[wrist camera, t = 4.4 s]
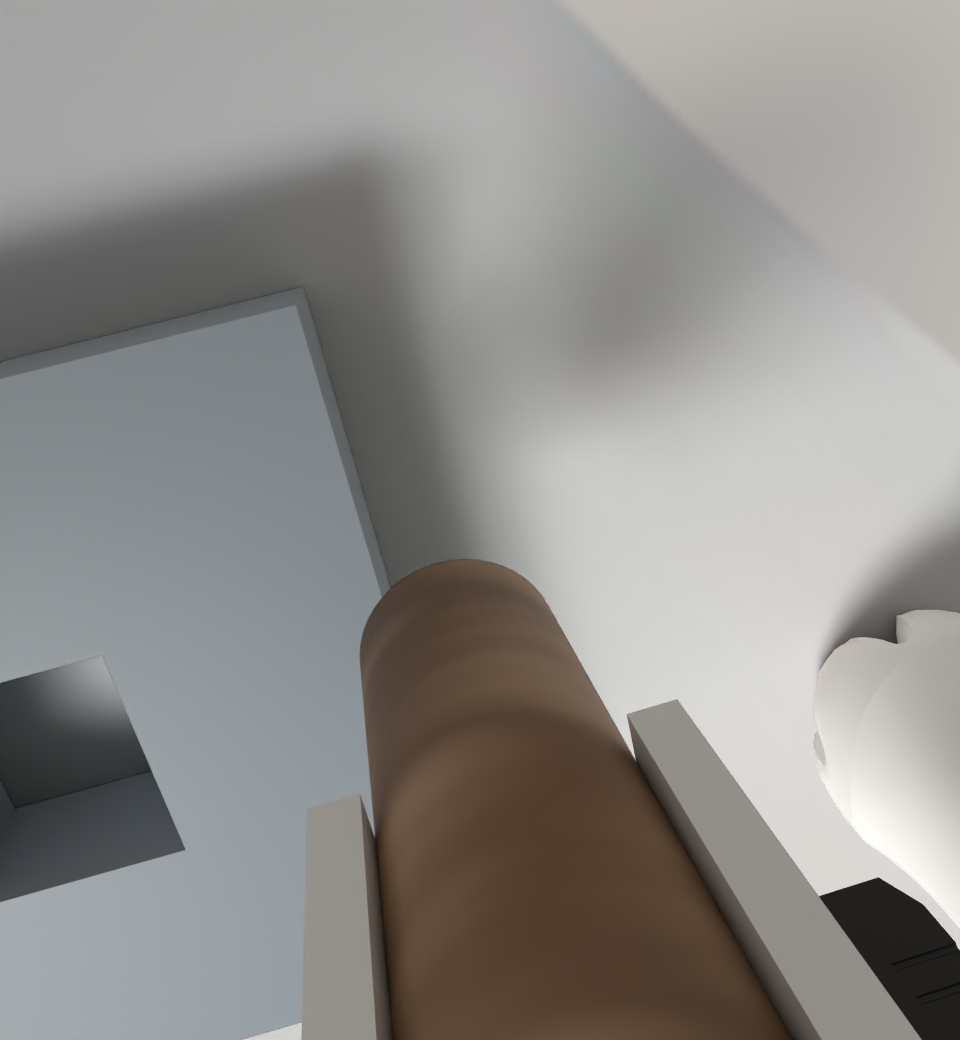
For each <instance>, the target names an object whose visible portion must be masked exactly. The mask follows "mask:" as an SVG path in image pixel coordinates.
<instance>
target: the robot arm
mask: <svg viewBox="0 0 960 1040" xmlns="http://www.w3.org/2000/svg"><path fill="white" fill-rule="evenodd" d="M627 717H628V723H629V728H630V733H631V738H632V743H633V748H634V753H635V758H636V762H637V764H638V766H639V768H640V769H641V771H642V773H643V775H644V776H645V778H646V780H647V782H648V784H649V785H650V787H651V789H652V791H653V792H654V794H655V796H656V798H657V800H658V801H659V803H660V805H661V807H662V808H663V810H664V812H665V814H666V816H667V817H668V819H669V821H670V823H671V824H672V826H673V828H674V830H675V831H676V833H677V835H678V837H679V839H680V840H681V842H682V844H683V846H684V847H685V849H686V851H687V853H688V855H689V856H690V858H691V860H692V862H693V863H694V865H695V867H696V869H697V871H698V872H699V874H700V876H701V878H702V879H703V881H704V883H705V885H706V887H707V888H708V890H709V892H710V894H711V895H712V897H713V899H714V901H715V903H716V904H717V906H718V908H719V910H720V911H721V913H722V915H723V917H724V918H725V920H726V922H727V924H728V926H729V927H730V929H731V931H732V933H733V934H734V936H735V938H736V940H737V942H738V943H739V945H740V947H741V949H742V950H743V952H744V954H745V956H746V958H747V959H748V961H749V963H750V965H751V966H752V968H753V970H754V972H755V974H756V975H757V977H758V979H759V981H760V982H761V984H762V986H763V988H764V990H765V991H766V993H767V995H768V997H769V998H770V1000H771V1002H772V1004H773V1006H774V1007H775V1009H776V1011H777V1013H778V1014H779V1016H780V1018H781V1020H782V1021H783V1023H784V1025H785V1027H786V1029H787V1030H788V1032H789V1034H790V1036H791V1037H792V1039H793V1040H960V950H959V949H958V948H957V946H956V942H955V941H954V940H953V939H952V938H951V937H950V935H949V934H948V933H947V932H946V931H945V930H944V928H943V927H942V926H941V925H940V924H939V923H938V921H937V920H936V919H935V918H934V917H933V916H932V914H931V913H930V912H929V911H928V910H927V909H926V907H925V906H924V905H923V904H921V903H920V902H918V901H916V900H915V899H913V898H911V897H910V896H908V895H906V894H905V893H903V892H902V891H900V890H898V889H897V888H895V887H893V886H892V885H890V884H888V883H887V882H885V881H883V880H882V879H880V878H875V879H872V880H869V881H866V882H863V883H859V884H856V885H853V886H850V887H847V888H844V889H841V890H837V891H834V892H831V893H828V894H825V895H822V896H818V895H817V893H816V892H815V891H814V889H813V888H812V886H811V885H810V884H809V882H808V881H807V879H806V878H805V877H804V875H803V874H802V872H801V871H800V870H799V868H798V867H797V865H796V864H795V863H794V861H793V860H792V858H791V857H790V856H789V854H788V853H787V852H786V850H785V849H784V847H783V846H782V845H781V843H780V842H779V840H778V839H777V838H776V836H775V835H774V833H773V832H772V831H771V829H770V828H769V826H768V825H767V824H766V822H765V821H764V820H763V818H762V817H761V815H760V814H759V813H758V811H757V810H756V808H755V807H754V806H753V804H752V803H751V801H750V800H749V799H748V797H747V796H746V794H745V793H744V792H743V790H742V789H741V787H740V786H739V785H738V783H737V782H736V781H735V779H734V778H733V776H732V775H731V774H730V772H729V771H728V769H727V768H726V767H725V765H724V764H723V762H722V761H721V760H720V758H719V757H718V755H717V754H716V753H715V751H714V750H713V748H712V747H711V746H710V744H709V743H708V742H707V740H706V739H705V737H704V736H703V735H702V733H701V732H700V730H699V729H698V728H697V726H696V725H695V723H694V722H693V721H692V719H691V718H690V716H689V715H688V714H687V712H686V711H685V710H684V708H683V707H682V705H681V704H680V703H679V701H678V700H673V701H670V702H667V703H663V704H660V705H656V706H653V707H650V708H646V709H643V710H639V711H636V712H633V713H629V714H627ZM302 1040H393V1035H392V1024H391V1012H390V1001H389V989H388V978H387V967H386V955H385V944H384V932H383V921H382V909H381V898H380V886H379V875H378V863H377V852H376V840H375V837H374V834H373V831H372V828H371V825H370V822H369V819H368V816H367V813H366V810H365V807H364V804H363V801H362V798H361V795H360V793H359V794H355V795H352V796H349V797H345V798H342V799H338V800H335V801H332V802H328V803H325V804H321V805H318V806H315V807H311V808H308V809H307V821H306V866H305V912H304V957H303V1003H302Z"/></svg>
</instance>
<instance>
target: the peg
mask: <svg viewBox="0 0 960 1040" xmlns="http://www.w3.org/2000/svg"><path fill="white" fill-rule="evenodd" d="M359 656H360V671H361V682H362V694H363V706H364V717H365V729H366V740H367V752H368V763H369V775H370V787H371V798H372V810H373V821H374V833H375V840H376V852H377V863H378V875H379V886H380V898H381V909H382V921H383V932H384V944H385V955H386V967H387V978H388V989H389V1001H390V1012H391V1024H392V1035H393V1040H793V1039H792V1037H791V1036H790V1034H789V1032H788V1030H787V1029H786V1027H785V1025H784V1023H783V1021H782V1020H781V1018H780V1016H779V1014H778V1013H777V1011H776V1009H775V1007H774V1006H773V1004H772V1002H771V1000H770V998H769V997H768V995H767V993H766V991H765V990H764V988H763V986H762V984H761V982H760V981H759V979H758V977H757V975H756V974H755V972H754V970H753V968H752V966H751V965H750V963H749V961H748V959H747V958H746V956H745V954H744V952H743V950H742V949H741V947H740V945H739V943H738V942H737V940H736V938H735V936H734V934H733V933H732V931H731V929H730V927H729V926H728V924H727V922H726V920H725V918H724V917H723V915H722V913H721V911H720V910H719V908H718V906H717V904H716V903H715V901H714V899H713V897H712V895H711V894H710V892H709V890H708V888H707V887H706V885H705V883H704V881H703V879H702V878H701V876H700V874H699V872H698V871H697V869H696V867H695V865H694V863H693V862H692V860H691V858H690V856H689V855H688V853H687V851H686V849H685V847H684V846H683V844H682V842H681V840H680V839H679V837H678V835H677V833H676V831H675V830H674V828H673V826H672V824H671V823H670V821H669V819H668V817H667V816H666V814H665V812H664V810H663V808H662V807H661V805H660V803H659V801H658V800H657V798H656V796H655V794H654V792H653V791H652V789H651V787H650V785H649V784H648V782H647V780H646V778H645V776H644V775H643V773H642V771H641V769H640V768H639V766H638V764H637V762H636V760H635V759H634V757H633V755H632V753H631V751H630V750H629V748H628V746H627V744H626V743H625V741H624V739H623V737H622V735H621V734H620V732H619V730H618V728H617V727H616V725H615V723H614V721H613V720H612V718H611V716H610V714H609V712H608V711H607V709H606V707H605V705H604V704H603V702H602V700H601V698H600V696H599V695H598V693H597V691H596V689H595V688H594V686H593V684H592V682H591V680H590V679H589V677H588V675H587V673H586V672H585V670H584V668H583V666H582V664H581V663H580V661H579V659H578V657H577V656H576V654H575V652H574V650H573V648H572V647H571V645H570V643H569V641H568V640H567V638H566V636H565V634H564V633H563V631H562V629H561V627H560V625H559V624H558V622H557V620H556V618H555V617H554V615H553V613H552V611H551V609H550V608H549V606H548V604H547V603H546V601H545V599H544V598H543V596H542V595H541V594H540V592H539V591H538V590H537V589H536V588H535V587H534V586H533V585H532V584H531V583H530V582H529V581H528V580H526V579H525V578H524V577H522V576H521V575H519V574H518V573H516V572H515V571H513V570H511V569H508V568H506V567H504V566H502V565H498V564H495V563H492V562H487V561H482V560H472V559H459V560H449V561H444V562H439V563H436V564H432V565H429V566H426V567H424V568H422V569H419V570H417V571H415V572H413V573H411V574H410V575H408V576H407V577H405V578H403V579H402V580H400V581H399V582H398V583H397V584H395V585H394V586H393V587H392V588H391V589H390V590H389V591H388V592H387V593H386V594H385V595H384V596H383V597H382V598H381V599H380V601H379V602H378V603H377V605H376V606H375V607H374V609H373V611H372V613H371V614H370V616H369V618H368V620H367V623H366V625H365V628H364V630H363V634H362V638H361V643H360V654H359Z"/></svg>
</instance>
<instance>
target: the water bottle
mask: <svg viewBox="0 0 960 1040" xmlns="http://www.w3.org/2000/svg"><path fill="white" fill-rule="evenodd" d="M896 636H897V641H898V644H894V643H891V642H887V641H884V640H880V639H875V638H868V637H858V638H852V639H849V640H848V641H847V642H846V643H845V644H842V645H841V646H839V647H838V648H836V649H835V650H834V651H833V652H832V654H831V655H830V656H829V657H828V659H827V660H826V661H825V663H824V665H823V666H822V668H821V669H820V671H819V672H818V675H817V680H816V685H815V691H814V698H813V710H814V719H815V723H816V728H817V731H818V732H817V733H815V735H814V750H815V760H816V766H817V770H818V772H819V774H820V776H821V778H822V781H823V783H824V785H825V787H826V788H827V790H828V792H829V794H830V796H831V797H832V799H833V801H834V802H835V804H836V805H837V807H838V808H839V810H840V811H841V813H842V814H843V815H844V817H845V818H846V819H847V820H848V822H849V823H850V824H851V825H852V827H853V828H854V829H855V830H856V831H857V833H858V834H859V835H860V836H861V838H862V839H863V840H864V841H865V842H867V843H868V844H869V845H870V846H872V847H874V848H875V849H877V850H878V851H880V852H881V853H883V854H884V855H885V856H887V857H888V858H889V859H890V860H892V861H893V862H894V863H895V864H897V865H898V866H899V867H900V868H902V869H903V870H904V871H905V872H907V873H908V874H909V875H910V876H911V877H912V878H913V879H914V880H915V881H916V882H917V883H918V884H919V885H920V886H921V887H922V888H924V889H925V890H926V891H927V892H928V893H929V894H930V895H931V896H932V897H933V898H934V900H935V901H936V902H937V903H938V904H939V905H940V906H941V907H942V908H943V910H944V911H945V912H946V913H947V914H948V915H949V916H950V917H951V918H952V919H953V921H954V922H955V923H956V924H957V926H958V927H959V928H960V613H957V612H951V611H945V610H913V611H910V612H907V613H904V614H902V615H897V616H896Z"/></svg>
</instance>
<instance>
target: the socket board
mask: <svg viewBox="0 0 960 1040" xmlns="http://www.w3.org/2000/svg"><path fill="white" fill-rule="evenodd" d="M390 589H391V586H390V583H389V580H388V576H387V573H386V569H385V566H384V562H383V559H382V555H381V552H380V549H379V545H378V542H377V538H376V535H375V531H374V528H373V525H372V521H371V518H370V514H369V511H368V507H367V504H366V500H365V497H364V494H363V490H362V487H361V483H360V480H359V476H358V473H357V470H356V466H355V463H354V459H353V456H352V452H351V449H350V445H349V442H348V439H347V435H346V432H345V428H344V425H343V421H342V418H341V415H340V411H339V408H338V404H337V401H336V397H335V394H334V390H333V387H332V384H331V380H330V377H329V373H328V370H327V366H326V363H325V359H324V356H323V353H322V349H321V346H320V342H319V339H318V335H317V332H316V329H315V325H314V322H313V318H312V315H311V311H310V308H309V304H308V301H307V298H306V294H305V291H304V287H299V288H295V289H291V290H287V291H283V292H279V293H275V294H271V295H267V296H263V297H259V298H255V299H251V300H247V301H243V302H239V303H235V304H231V305H227V306H223V307H219V308H215V309H211V310H207V311H203V312H199V313H195V314H191V315H187V316H182V317H178V318H174V319H170V320H166V321H162V322H158V323H154V324H150V325H146V326H142V327H138V328H134V329H130V330H126V331H122V332H118V333H114V334H110V335H106V336H102V337H98V338H94V339H90V340H86V341H82V342H78V343H74V344H70V345H66V346H62V347H58V348H54V349H50V350H46V351H42V352H38V353H34V354H30V355H26V356H22V357H18V358H14V359H10V360H6V361H2V362H0V683H1V682H5V681H9V680H12V679H16V678H20V677H24V676H27V675H31V674H35V673H39V672H42V671H46V670H50V669H53V668H57V667H61V666H65V665H68V664H72V663H76V662H79V661H83V660H87V659H91V658H94V657H98V656H102V657H103V659H104V661H105V664H106V666H107V668H108V671H109V673H110V675H111V678H112V680H113V682H114V684H115V687H116V689H117V691H118V694H119V696H120V698H121V701H122V703H123V705H124V708H125V710H126V712H127V715H128V717H129V719H130V722H131V724H132V726H133V729H134V731H135V733H136V736H137V738H138V740H139V742H140V745H141V747H142V749H143V752H144V754H145V756H146V759H147V761H148V763H149V766H150V768H151V770H152V771H150V772H147V773H143V774H140V775H136V776H132V777H129V778H125V779H121V780H118V781H114V782H111V783H107V784H103V785H100V786H96V787H92V788H89V789H85V790H82V791H78V792H74V793H71V794H67V795H64V796H60V797H56V798H53V799H49V800H45V801H42V802H38V803H35V804H31V805H27V806H24V807H20V808H17V809H15V808H14V806H13V804H12V802H11V800H10V798H9V796H8V794H7V792H6V790H5V788H4V786H3V784H2V782H1V780H0V1040H243V1039H247V1038H250V1037H253V1036H257V1035H260V1034H264V1033H267V1032H270V1031H274V1030H277V1029H281V1028H284V1027H287V1026H291V1025H294V1024H297V1023H301V1022H302V1003H303V957H304V912H305V866H306V821H307V809H308V808H311V807H315V806H318V805H321V804H325V803H328V802H332V801H335V800H338V799H342V798H345V797H349V796H352V795H355V794H359V793H360V795H361V798H362V801H363V804H364V807H365V810H366V813H367V816H368V819H369V822H370V825H371V828H372V831H373V834H374V837H375V833H374V821H373V810H372V798H371V787H370V775H369V763H368V752H367V740H366V729H365V717H364V706H363V694H362V682H361V671H360V656H359V654H360V643H361V638H362V634H363V630H364V628H365V625H366V623H367V620H368V618H369V616H370V614H371V613H372V611H373V609H374V607H375V606H376V605H377V603H378V602H379V601H380V599H381V598H382V597H383V596H384V595H385V594H386V593H387V592H388V591H389V590H390Z"/></svg>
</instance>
